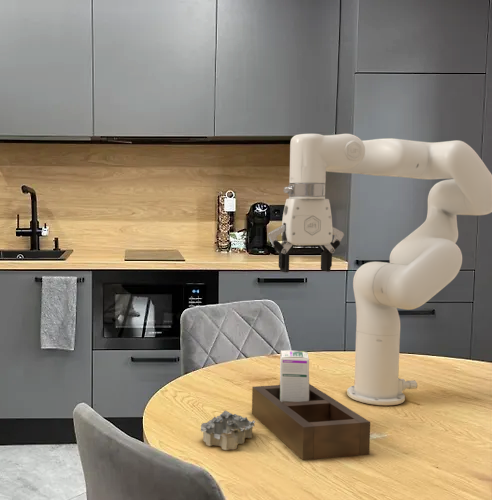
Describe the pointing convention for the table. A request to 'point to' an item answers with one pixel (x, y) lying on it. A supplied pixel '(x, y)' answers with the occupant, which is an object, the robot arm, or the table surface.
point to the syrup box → (294, 376)
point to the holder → (312, 424)
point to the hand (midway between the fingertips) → (305, 271)
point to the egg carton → (227, 430)
